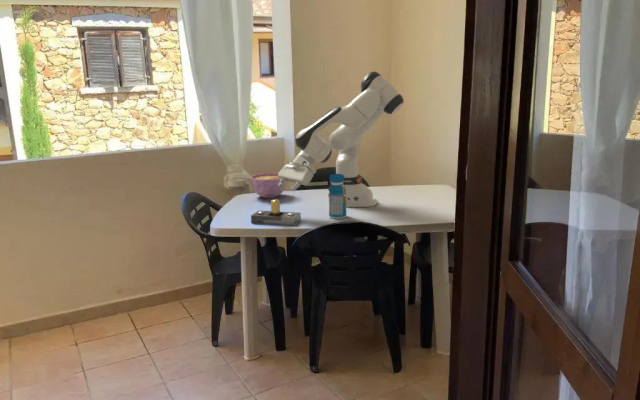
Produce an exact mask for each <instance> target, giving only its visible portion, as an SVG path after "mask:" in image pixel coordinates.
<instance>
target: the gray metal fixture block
mask: <svg viewBox="0 0 640 400" xmlns="http://www.w3.org/2000/svg"><path fill="white" fill-rule="evenodd" d="M301 214H302V213H301V212H293V211H280V216H272V214H271V210H257V211H255V212H254V213H253V214H251V215H250V223H251V224H261V223H262V224H263V225H264V224H265V225H278V226H280V225H283V226H295V225H297V224H298V223H299V222H300V221H301V220H302V217H301Z"/></svg>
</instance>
